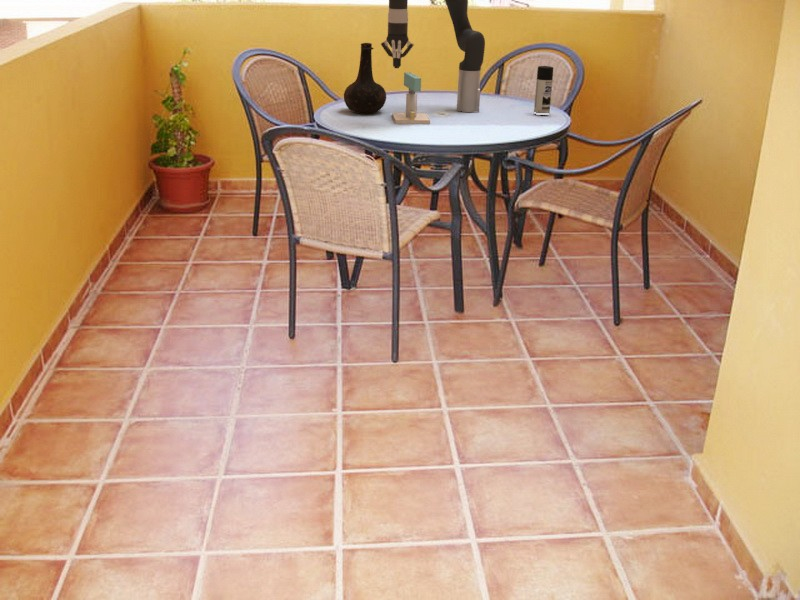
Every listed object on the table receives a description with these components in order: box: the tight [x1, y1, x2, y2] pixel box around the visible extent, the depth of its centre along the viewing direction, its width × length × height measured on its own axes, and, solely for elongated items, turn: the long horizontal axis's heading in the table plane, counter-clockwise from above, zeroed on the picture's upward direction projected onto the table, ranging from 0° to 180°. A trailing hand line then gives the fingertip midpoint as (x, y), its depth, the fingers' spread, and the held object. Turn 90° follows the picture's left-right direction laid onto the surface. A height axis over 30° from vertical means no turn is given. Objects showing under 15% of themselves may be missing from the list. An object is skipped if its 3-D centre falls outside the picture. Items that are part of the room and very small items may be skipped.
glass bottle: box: [343, 42, 387, 115], centre depth 350 cm, size 18×18×28 cm
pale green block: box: [403, 72, 422, 94], centre depth 337 cm, size 15×3×7 cm, turn 16°
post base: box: [391, 92, 431, 125], centre depth 340 cm, size 14×14×10 cm
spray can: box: [533, 65, 554, 114], centre depth 358 cm, size 7×7×20 cm
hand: (396, 68), depth 327 cm, fingers closed
